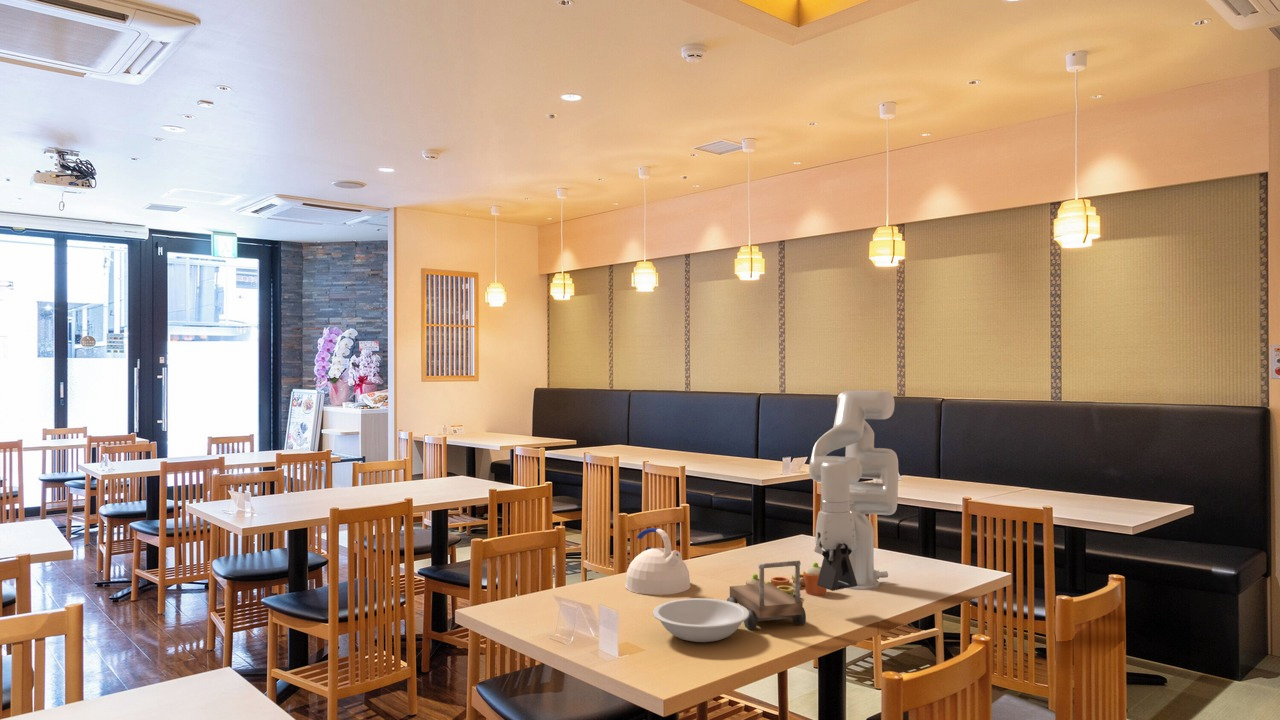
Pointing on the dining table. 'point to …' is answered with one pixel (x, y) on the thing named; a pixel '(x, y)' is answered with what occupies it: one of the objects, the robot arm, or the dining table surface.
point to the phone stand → (837, 571)
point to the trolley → (769, 599)
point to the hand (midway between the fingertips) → (836, 573)
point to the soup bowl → (701, 618)
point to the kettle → (658, 569)
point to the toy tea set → (806, 582)
